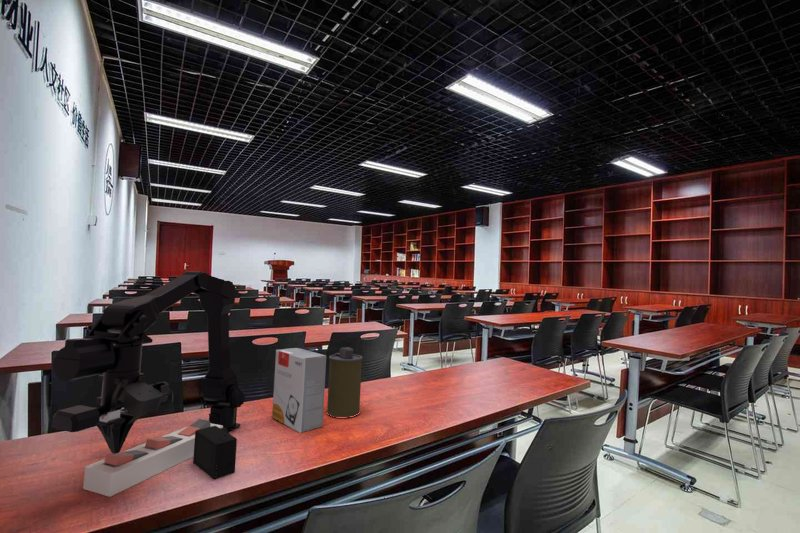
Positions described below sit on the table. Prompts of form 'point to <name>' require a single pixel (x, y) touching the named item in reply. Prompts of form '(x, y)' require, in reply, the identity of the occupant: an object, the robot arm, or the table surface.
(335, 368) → the canister
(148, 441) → the rocker
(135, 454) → the rocker
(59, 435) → the table surface
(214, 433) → the black cubic block
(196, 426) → the rocker
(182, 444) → the rocker switch panel
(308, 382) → the hard drive box
